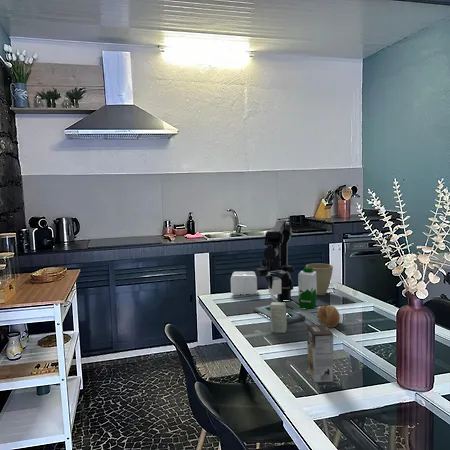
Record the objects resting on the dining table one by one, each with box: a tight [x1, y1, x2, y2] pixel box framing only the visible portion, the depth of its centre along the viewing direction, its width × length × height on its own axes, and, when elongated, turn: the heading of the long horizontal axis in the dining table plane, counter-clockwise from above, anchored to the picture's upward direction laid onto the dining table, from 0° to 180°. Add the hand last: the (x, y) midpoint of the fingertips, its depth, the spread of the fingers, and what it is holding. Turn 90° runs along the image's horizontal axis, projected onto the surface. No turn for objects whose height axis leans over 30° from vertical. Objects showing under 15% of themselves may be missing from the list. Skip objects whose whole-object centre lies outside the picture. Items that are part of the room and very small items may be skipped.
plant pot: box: [305, 263, 334, 296], centre depth 236 cm, size 15×15×16 cm
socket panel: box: [253, 304, 306, 324], centre depth 201 cm, size 14×24×2 cm, turn 24°
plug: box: [268, 276, 282, 296], centre depth 202 cm, size 4×4×8 cm
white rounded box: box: [230, 271, 258, 296], centre depth 242 cm, size 15×11×12 cm
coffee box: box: [306, 323, 334, 383], centre depth 137 cm, size 9×6×16 cm
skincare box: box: [269, 301, 288, 333], centre depth 180 cm, size 6×4×12 cm
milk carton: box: [297, 266, 318, 310], centre depth 211 cm, size 9×9×20 cm
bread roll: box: [317, 305, 341, 329], centre depth 187 cm, size 10×15×8 cm, turn 174°
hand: (275, 288), depth 202 cm, fingers closed on plug, 4 cm apart
